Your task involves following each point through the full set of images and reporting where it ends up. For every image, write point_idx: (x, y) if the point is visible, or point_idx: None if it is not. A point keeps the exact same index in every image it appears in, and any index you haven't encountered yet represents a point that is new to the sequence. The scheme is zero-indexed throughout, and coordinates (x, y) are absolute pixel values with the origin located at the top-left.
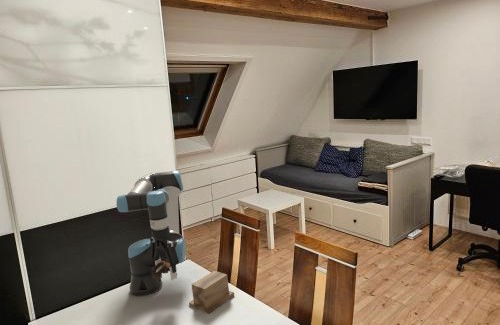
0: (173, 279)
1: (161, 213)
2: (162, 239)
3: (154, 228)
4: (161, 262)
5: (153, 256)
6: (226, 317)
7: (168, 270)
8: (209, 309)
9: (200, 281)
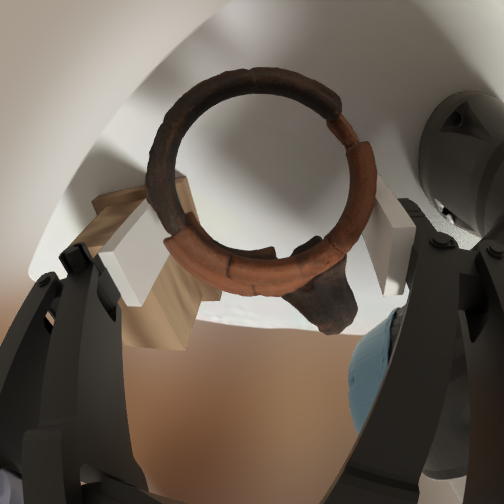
0: None
1: None
2: None
3: None
4: (304, 254)
5: (474, 273)
6: (63, 218)
7: (309, 243)
8: (95, 207)
9: None
